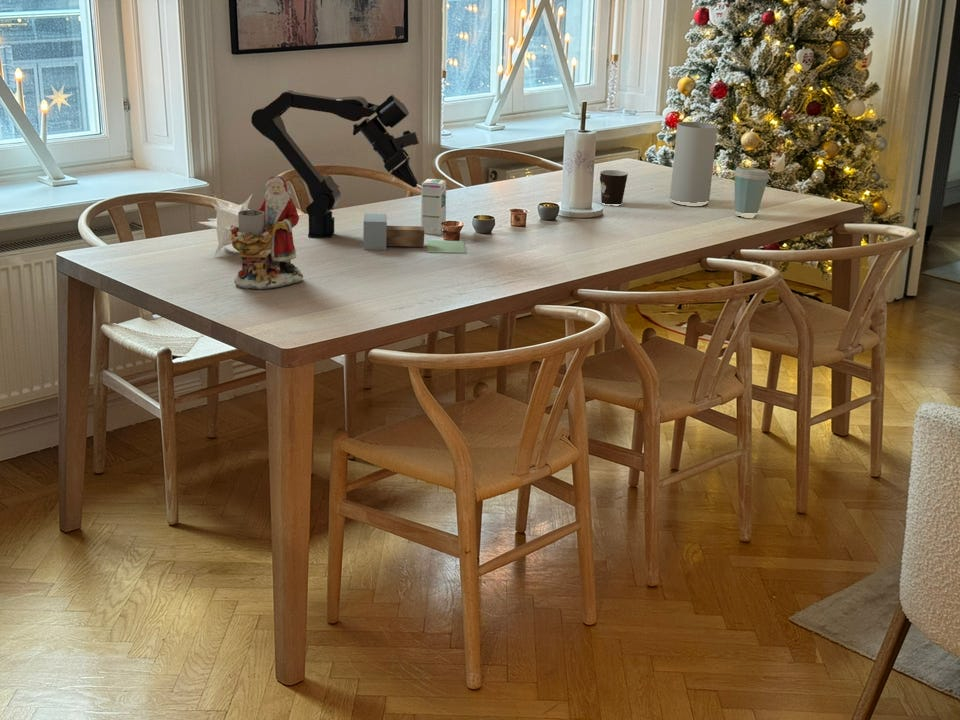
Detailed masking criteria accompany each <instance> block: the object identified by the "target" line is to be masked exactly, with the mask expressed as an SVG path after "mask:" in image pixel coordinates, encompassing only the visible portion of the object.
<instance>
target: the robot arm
mask: <svg viewBox="0 0 960 720" xmlns="http://www.w3.org/2000/svg"><path fill="white" fill-rule="evenodd" d="M290 108H294V109H295V108H296V109H302V110H309V111H315V112H322V113H329V114H332V115H336V116H337V117H339V118H340V119H345V120H348V121H349V122H358V121H360V120H362V119H363V118H365V119H364V120H362V121H361V122H360V123H354V124H353V125H352V126H353V130H352V135H353V136H356V135H357V134H359V133H361V135H362V136H363V137H364V139H366V140H367V142H368V143H369V144H370V145H371V147H372V149H373V150H374V152H376V153H377V155H379V157H380V158H381V159H382V162H383V163H384V165H383V166H384V167H383V168H384V169H385V170H386V171H387V172H388V173H389V174H390V175H392V176H393V177H396V178H397V179H399V180H401V181H402V182H404V183H406V184H407V185H409V186H411V187H412V188H414V189H415V188H416V187H417V186H418V180H417V178H416V176H415V174H414V172H413V171H412V168H411V166H410V159H411V158H410V154H409V153H408V151H406V149H404V148H406V147H407V148H408V147H410V146H416V145H418V144H420V142H419V137H418V135H417V133H416V131H413V132H411V131H410V130H409V129H407V130H404V131H402V135H401V136H398V137H395V136H394V135H393V134H391V133H390V132H389V131H388V129H387V128H388V127H389V128H391V129H393V128H395V126H397V125H398V124H399V123H401V122H402V121H403V120H405V118H407V117H408V116H409V115H410V113H409V111H408V109H407V107H406V105H405V104H404V103H403V102H401V101H400V99H398V98H397V97H396V96H395V95H394V94H391V95H389V96H388V97H387V98H386V99H385V100H384V101H383V102H382V103H381V104H380V105H379V104H375V103H371V102H368V100H367V99H366V98H364V97H362V96H361V95H360V96H356V95H355V96H343V97H341V96H340V97H333V96H332V97H331V96H325V95H319V94H312V93H307V92H306V93H305V92H298V91H294V90H286V91H283V92H282V93H281V94H280V95H279V96H278V97H277V98H276V99H274V100H273V101H271V102H270V103H269V104H268V105H265V106H263V107H260V108H258V109H256V110H254V111H253V112H252V114H251V120H250V122H251V125H252V126H253V128H254V129H255V130H257V131H258V132H259V133H260V134H261V135H262V136H263V137H265V138H267V139H268V140H270V141H271V142H273V144H274V145H275V146H276V147H277V149H278V150H279V151H280V153H281V154H282V155H283V157H285V159H286V160H287V161H288V162H289V164H290V165H291V166H292V168H293V169H294V170H295V172H296V173H297V174H298V175H299V177H300V178H301V180H303V181H304V183H305V184H306V186H307V189H308V193H309V196H310V198H312V199H311V200H312V202H310V203H309V204H308V205H307V206H306V207H305V211H306V213H307V216H308V234H307V237H308V238H333V235H334V234H335V217H334V216H333V211H332V210H334V207H335V206H336V205H337V204H338V203H339V202H340V200H341V194H342V193H341V191H340V189H339V188H340V186H339V185H338V184H337V183H336V182H335V180H334V179H333V178H332V176H331V175H328V176H327V177H325V176H323V175H321V174H320V172H319V171H318V170H317V169H316V167H315V166H314V165H313V163H312V162H311V161H310V160H309V159H308V157H307V156H306V155H305V153H304V152H303V151H302V149H301V148H300V147H299V146H298V144H296V142H295V141H294V139H293V138H292V137H291V135H290V134H289V132H287V129H286V126H285V123H284V120H283V119H282V117H281V116H283V114H285V113H286V112H287V111H288V110H289V109H290ZM374 114H376V115H375V116H374V117H372V118H371V119H370V117H371V116H373V115H374Z"/></svg>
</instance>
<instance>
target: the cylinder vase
mask: <svg viewBox="0 0 960 720" xmlns="http://www.w3.org/2000/svg"><path fill="white" fill-rule="evenodd" d="M717 134H718V125H717V124H713V123H710V122H701V121H680V122H678V123H677V124H676V132H675V144H674V154H673V163H672V175H671V185H670V193H669V200H670V199H672V200H675V201H680V202H690V203H697V202H706V201H709V202H710V199H711V198H710V197H711V187H712V178H713V170H714V160H715V152H716V144H717V143H716V142H717Z"/></svg>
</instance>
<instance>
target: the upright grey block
mask: <svg viewBox="0 0 960 720" xmlns="http://www.w3.org/2000/svg"><path fill="white" fill-rule="evenodd" d="M387 218H388V214H387V213H366V212H365V213H364V214H363V234H362V235H363V237H362V238H363V239H362V240H363V242H362V243H363V244H362V245H363V251H367V250H368V251H387V246H386V232H387V226H388V223H387V221H388V219H387Z"/></svg>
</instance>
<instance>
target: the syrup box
mask: <svg viewBox="0 0 960 720" xmlns="http://www.w3.org/2000/svg"><path fill="white" fill-rule="evenodd" d="M446 188H447V181H446V179H439V178H426V180H424V181H422V183H421V213H420V214H421V222H420V223H421V226H424V235H435V236H441V235H442V234H443V233H444V232H442V226H441V223H442V222H444V221H447V220H446V212H447V211H446V210H447V209H446V207H447V206H446V203H447V202H446V201H447V189H446Z"/></svg>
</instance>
